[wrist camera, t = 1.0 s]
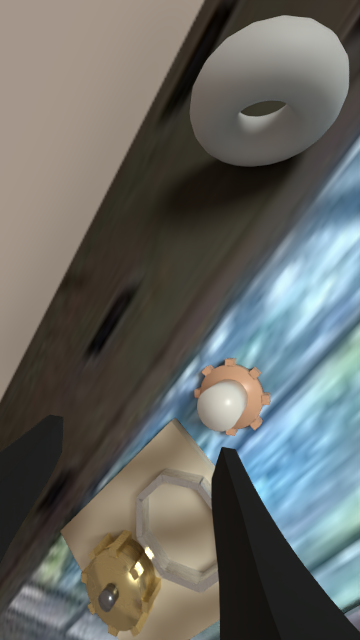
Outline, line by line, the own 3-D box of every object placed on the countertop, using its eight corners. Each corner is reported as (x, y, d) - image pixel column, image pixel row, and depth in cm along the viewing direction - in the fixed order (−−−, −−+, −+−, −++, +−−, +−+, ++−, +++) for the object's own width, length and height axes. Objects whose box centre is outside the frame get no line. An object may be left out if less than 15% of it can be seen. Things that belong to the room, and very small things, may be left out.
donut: (212, 184, 24) (162, 97, 15) (213, 148, 25) (165, 39, 15) (336, 162, 20) (369, 24, 11) (337, 118, 21) (371, -53, 11)
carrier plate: (291, 561, 21) (291, 572, 20) (142, 661, 25) (137, 673, 24) (175, 417, 25) (170, 420, 24) (67, 525, 30) (60, 531, 29)
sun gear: (175, 589, 23) (157, 629, 20) (128, 624, 25) (104, 666, 22) (128, 515, 25) (105, 540, 22) (87, 552, 27) (60, 580, 24)
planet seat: (257, 543, 21) (254, 555, 20) (186, 594, 23) (180, 607, 22) (184, 451, 23) (179, 457, 22) (127, 504, 26) (120, 512, 24)
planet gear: (287, 398, 21) (284, 416, 17) (233, 445, 23) (218, 474, 18) (231, 343, 23) (216, 346, 19) (186, 389, 25) (161, 403, 20)
